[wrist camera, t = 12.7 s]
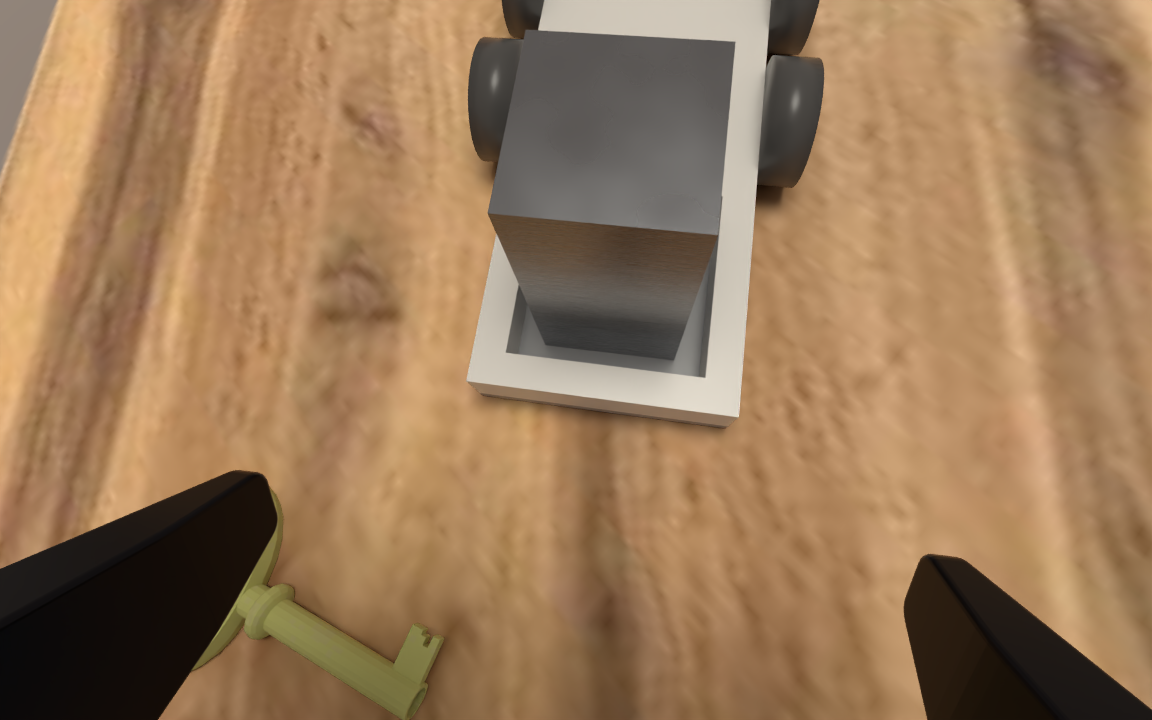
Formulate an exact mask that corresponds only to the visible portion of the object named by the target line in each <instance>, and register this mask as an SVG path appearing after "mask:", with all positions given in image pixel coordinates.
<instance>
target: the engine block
mask: <svg viewBox="0 0 1152 720" xmlns="http://www.w3.org/2000/svg"><path fill="white" fill-rule="evenodd" d="M735 43H736V42H733V41H716V40H698V39H681V38H664V37H646V36H629V35H611V34H594V33H576V32H559V31H541V30H526V31H525V36H524V40H523V45H522V50H521V55H520V60H519V65H518V69H517V74H516V79H515V84H514V89H513V93H512V98H511V103H510V108H509V113H508V118H507V122H506V127H505V132H504V137H503V142H502V147H501V151H500V156H499V161H498V166H497V171H496V175H495V180H494V185H493V190H492V195H491V200H490V204H489V209H488V215H489V217H490V220H491V222H492V224H493V227H494V229H495V231H496V233H497V236H498V238H499V240H500V243H501V245H502V247H503V249H504V252H505V254H506V256H507V259H508V261H509V263H510V265H511V268H512V270H513V272H514V275H515V277H516V279H517V281H518V284H519V286H520V288H521V291H522V293H523V295H524V297H525V300H526V302H527V304H528V307H529V309H530V311H531V313H532V316H533V318H534V320H535V323H536V325H537V327H538V329H539V332H540V334H541V336H542V338H543V341H544V343H545V345H548V346H557V347H565V348H573V349H582V350H590V351H598V352H607V353H615V354H623V355H632V356H640V357H648V358H657V359H665V360H673V361H674V359H675V356H676V354H677V351H678V348H679V345H680V342H681V339H682V337H683V334H684V331H685V328H686V325H687V322H688V319H689V317H690V314H691V311H692V308H693V305H694V302H695V300H696V297H697V294H698V291H699V288H700V285H701V282H702V280H703V277H704V274H705V271H706V268H707V265H708V262H709V260H710V257H711V254H712V251H713V248H714V245H715V243H716V240H717V237H718V231H719V220H720V209H721V197H722V186H723V175H724V164H725V153H726V142H727V131H728V120H729V109H730V98H731V87H732V76H733V65H734V54H735Z"/></svg>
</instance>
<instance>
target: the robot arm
mask: <svg viewBox="0 0 1152 720" xmlns="http://www.w3.org/2000/svg"><path fill="white" fill-rule="evenodd" d="M277 522H278V515H277V511H276V507H275V504H274V501H273V498H272V494H271V491H270V488H269V484H268V481H267V479H266V478H265V476H264V475H263V474H260V473H258V472H251V471H242V470H235V471H231V472H228V473H225V474H223V475H221V476H218V477H216V478H214V479H211V480H209V481H207V482H204V483H202V484H200V485H197V486H195V487H192V488H190V489H188V490H185V491H183V492H181V493H178V494H176V495H174V496H171V497H169V498H166V499H164V500H162V501H159V502H157V503H155V504H152V505H150V506H148V507H145V508H143V509H141V510H138V511H136V512H133V513H131V514H129V515H126V516H124V517H122V518H119V519H117V520H115V521H112V522H110V523H107V524H105V525H103V526H100V527H98V528H96V529H93V530H91V531H89V532H86V533H84V534H81V535H79V536H77V537H74V538H72V539H70V540H67V541H65V542H63V543H60V544H58V545H56V546H53V547H51V548H48V549H46V550H44V551H41V552H39V553H37V554H34V555H32V556H30V557H27V558H25V559H22V560H20V561H18V562H15V563H13V564H11V565H8V566H6V567H4V568H1V569H0V720H158V719H159V717H160V716H161V715H162V713H163V712H164V710H165V709H166V707H167V706H168V704H169V703H170V701H171V700H172V699H173V697H174V696H175V694H176V693H177V691H178V690H179V688H180V687H181V685H182V684H183V682H184V681H185V680H186V678H187V677H188V675H189V674H190V672H191V671H192V669H193V668H194V666H195V665H196V664H197V662H198V661H199V659H200V658H201V656H202V655H203V653H204V652H205V650H206V649H207V648H208V646H209V645H210V643H211V642H212V640H213V638H214V637H215V635H216V634H217V632H218V631H219V629H220V628H221V626H222V624H223V623H224V621H225V619H226V618H227V616H228V614H229V613H230V611H231V609H232V607H233V606H234V604H235V602H236V600H237V598H238V597H239V595H240V593H241V591H242V590H243V588H244V586H245V584H246V582H247V581H248V579H249V577H250V575H251V574H252V572H253V570H254V568H255V566H256V565H257V563H258V561H259V559H260V558H261V556H262V554H263V552H264V550H265V549H266V547H267V545H268V543H269V542H270V540H271V538H272V536H273V535H274V532H275V530H276V527H277ZM904 618H905V623H906V628H907V632H908V637H909V641H910V645H911V650H912V654H913V659H914V663H915V667H916V672H917V676H918V681H919V685H920V689H921V694H922V698H923V703H924V707H925V711H926V716H927V720H1152V709H1150V708H1149V707H1148V706H1147V705H1145V704H1144V703H1143V702H1142V701H1140V700H1139V699H1138V698H1137V697H1135V696H1134V695H1133V694H1132V693H1130V692H1129V691H1128V690H1127V689H1125V688H1124V687H1123V686H1122V685H1120V684H1119V683H1118V682H1117V681H1115V680H1114V679H1113V678H1112V677H1110V676H1109V675H1108V674H1107V673H1105V672H1104V671H1103V670H1102V669H1100V668H1099V667H1098V666H1097V665H1095V664H1094V663H1093V662H1092V661H1090V660H1089V659H1088V658H1087V657H1085V656H1084V655H1083V654H1082V653H1081V652H1079V651H1078V650H1077V649H1076V648H1074V647H1073V646H1072V645H1071V644H1069V643H1068V642H1067V641H1066V640H1064V639H1063V638H1062V637H1061V636H1059V635H1058V634H1057V633H1056V632H1054V631H1053V630H1052V629H1051V628H1049V627H1048V626H1047V625H1046V624H1044V623H1043V622H1042V621H1041V620H1039V619H1038V618H1037V617H1036V616H1034V615H1033V614H1032V613H1031V612H1029V611H1028V610H1027V609H1026V608H1024V607H1023V606H1022V605H1021V604H1019V603H1018V602H1017V601H1016V600H1014V599H1013V598H1012V597H1011V596H1009V595H1008V594H1007V593H1006V592H1004V591H1003V590H1002V589H1001V588H999V587H998V586H997V585H996V584H994V583H993V582H992V581H991V580H989V579H988V578H987V577H986V576H984V575H983V574H982V573H981V572H979V571H978V570H977V569H976V568H974V567H973V566H972V565H971V564H969V563H968V562H967V561H965V560H963V559H961V558H958V557H952V556H944V555H935V554H927V555H925V556H923V557H922V558H921V559H920V561H919V563H918V566H917V568H916V571H915V574H914V576H913V579H912V582H911V584H910V587H909V589H908V592H907V595H906V598H905V601H904Z"/></svg>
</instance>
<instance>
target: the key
mask: <svg viewBox="0 0 1152 720" xmlns="http://www.w3.org/2000/svg"><path fill="white" fill-rule="evenodd" d="M269 488H270V487H269ZM270 491H271V494H272V498H273V501H274V504H275V507H276V511H277V515H278V522H277V527H276V530H275V532H274V535H273V536H272V538H271V540H270V542H269V543H268V545H267V547H266V549H265V550H264V552H263V554H262V556H261V558H260V559H259V561H258V563H257V565H256V566H255V568H254V570H253V572H252V574H251V575H250V577H249V579H248V581H247V582H246V584H245V586H244V588H243V590H242V591H241V593H240V595H239V597H238V598H237V600H236V602H235V604H234V606H233V607H232V609H231V611H230V613H229V614H228V616H227V618H226V619H225V621H224V623H223V624H222V626H221V628H220V629H219V631H218V632H217V634H216V635H215V637H214V638H213V640H212V642H211V643H210V645H209V646H208V648H207V649H206V650H205V652H204V653H203V655H202V656H201V658H200V659H199V661H198V662H197V664H196V665H195V666H194V668H193V669H192V670H195V669H197V668H198V667H200V666H202V665H203V664H205V663H206V662H207V661H209V660H210V659H212V658H213V657H214V656H216V655H217V654H218V653H220V652H221V651H222V650H223V649H224V648H225V647H226V646H227V645H228V644H229V642H230V641H231V640H232V639H233V638H234V637H235V636H236V635H237V633H238V632H239V630H240V629H241V628H242V626H243V625H244V623H245V626H244V631H245V633H246V634H247V635H248V637H249V638H251V639H257V640H260V639H262V638H264V637H267V636H269V635H271V636H272V637H274V638H276V639H277V640H279V641H280V642H282V643H283V644H285V645H286V646H288V647H290V648H291V649H293V650H294V651H296V652H297V653H299V654H301V655H302V656H304V657H305V658H307V659H308V660H310V661H311V662H313V663H315V664H316V665H318V666H319V667H321V668H322V669H324V670H325V671H327V672H329V673H330V674H332V675H333V676H335V677H336V678H338V679H339V680H341V681H343V682H344V683H346V684H347V685H349V686H350V687H352V688H353V689H355V690H357V691H358V692H360V693H361V694H363V695H364V696H366V697H367V698H369V699H371V700H372V701H374V702H375V703H377V704H378V705H380V706H382V707H383V708H385V709H386V710H388V711H389V712H391V713H392V714H394V715H396V716H397V717H399V718H400V719H402V720H410V719H411V718H412V717H413V715H414V714H415V713H416V711H417V710H418V708H419V706H420V705H421V703H422V701H423V699H424V697H425V694H426V692H427V688H428V685H427V683H425V680H426V678H427V675H428V673H429V671H430V669H431V667H432V665H433V662H434V660H435V658H436V656H437V654H438V652H439V649H440V647H441V645H442V643H443V641H444V639H445V638H444V637H442V636H440V635H438V634H437V635H435V636H433V638H432V640H431V642H430V644H428V641H429V639H430V635H428V634H427V633H426V632H427V630H428V628H426V627H425V626H423V625H421V624H419V623H416V624H413V625H412V627H411V629H410V631H409V633H408V636H407V638H406V640H405V642H404V644H403V646H402V648H401V650H400V652H399V654H398V657H397V659H396V661H395V663H392V662H391V661H389V660H388V659H386V658H384V657H383V656H381V655H379V654H378V653H376V652H374V651H373V650H371V649H370V648H368V647H366V646H365V645H363V644H361V643H360V642H358V641H356V640H355V639H353V638H352V637H350V636H348V635H347V634H345V633H343V632H342V631H340V630H338V629H337V628H335V627H334V626H332V625H330V624H329V623H327V622H325V621H324V620H322V619H320V618H319V617H317V616H316V615H314V614H312V613H311V612H309V611H307V610H306V609H304V608H302V607H301V606H299V605H298V604H296V603H294V602H293V600H294V597H295V592H294V589H293V588H292V587H291V586H290V585H286V584H279V585H276V586H273V587H272V588H270V587H268V586H267V583H268V581H269V579H270V576H271V574H272V571H273V569H274V566H275V564H276V561H277V559H278V554H279V550H280V546H281V542H282V532H283V513H282V509H281V505H280V503H279V500H278V498H277V496H276V494H275V493H274V492H273V491H272V489H271V488H270Z"/></svg>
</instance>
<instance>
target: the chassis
mask: <svg viewBox="0 0 1152 720" xmlns="http://www.w3.org/2000/svg"><path fill="white" fill-rule="evenodd" d="M818 4H819V0H502V6H503V13H504V18H505V22H506V25H507V28H508V31H509V33H510V35H511V36H512V37H514V38H524V36H525V31H526V30H541V31H559V32H576V33H594V34H611V35H629V36H646V37H664V38H681V39H698V40H716V41H733V42H736V43H735V54H734V65H733V76H732V87H731V98H730V109H729V120H728V131H727V142H726V153H725V164H724V175H723V186H722V197H721V209H720V220H719V231H718V237H717V240H716V243H715V245H714V248H713V251H712V254H711V257H710V260H709V262H708V265H707V268H706V271H705V274H704V277H703V280H702V282H701V285H700V288H699V291H698V294H697V297H696V300H695V302H694V305H693V308H692V311H691V314H690V317H689V319H688V322H687V325H686V328H685V331H684V334H683V337H682V339H681V342H680V345H679V348H678V351H677V354H676V356H675V359H674V361H673V360H665V359H657V358H648V357H640V356H632V355H623V354H615V353H607V352H598V351H590V350H582V349H573V348H565V347H557V346H548V345H545V343H544V341H543V338H542V336H541V334H540V332H539V329H538V327H537V325H536V323H535V320H534V318H533V316H532V313H531V311H530V309H529V307H528V304H527V302H526V300H525V297H524V295H523V293H522V291H521V288H520V286H519V284H518V281H517V279H516V277H515V275H514V272H513V270H512V268H511V265H510V263H509V261H508V259H507V256H506V254H505V252H504V249H503V247H502V245H501V243H500V240H499V238H498V236H497V233H496V238H495V243H494V248H493V253H492V258H491V263H490V268H489V273H488V277H487V282H486V287H485V292H484V297H483V302H482V307H481V312H480V316H479V321H478V326H477V331H476V336H475V341H474V346H473V351H472V356H471V360H470V365H469V370H468V375H467V380H466V381H467V382H468V383H469V384H470V385H471V386H473V387H474V388H475V389H476V390H477V391H478V392H479V393H481V394H482V395H483V396H490V397H497V398H504V399H512V400H519V401H527V402H534V403H541V404H549V405H556V406H564V407H571V408H578V409H586V410H593V411H600V412H608V413H615V414H623V415H630V416H637V417H645V418H652V419H659V420H667V421H674V422H682V423H689V424H696V425H704V426H711V427H719V428H726V427H728V426H729V425H730V424H731V423H732V422H734V421H735V420H736V419H737V418H739V408H740V395H741V382H742V369H743V356H744V344H745V331H746V318H747V305H748V292H749V279H750V266H751V253H752V240H753V227H754V214H755V201H756V188H757V185H766V186H778V187H789V188H792V187H794V186H795V185H796V184H797V182H798V181H799V179H800V177H801V175H802V173H803V171H804V168H805V166H806V163H807V161H808V158H809V155H810V152H811V148H812V145H813V141H814V138H815V134H816V130H817V125H818V121H819V116H820V110H821V104H822V97H823V87H824V67H823V62H822V60H821V59H820V58H812V57H796V56H780V55H773V56H772V57H771V59H770V60H769V63H768V65H767V67H766V59H767V53H772V54H788V55H798V54H799V53H800V52H801V51H802V49H803V47H804V45H805V43H806V41H807V38H808V36H809V33H810V30H811V27H812V24H813V21H814V18H815V15H816V11H817V8H818ZM522 45H523V39H507V38H491V37H483V38H481V39H480V40H479V42H478V43H477V45H476V47H475V50H474V53H473V57H472V61H471V67H470V74H469V86H468V111H469V123H470V130H471V136H472V140H473V144H474V147H475V150H476V152H477V154H478V156H479V157H480V159H481V160H483V161H492V162H498V161H499V156H500V151H501V147H502V142H503V137H504V132H505V127H506V122H507V118H508V113H509V108H510V103H511V98H512V93H513V89H514V84H515V79H516V74H517V69H518V65H519V60H520V55H521V50H522Z"/></svg>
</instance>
